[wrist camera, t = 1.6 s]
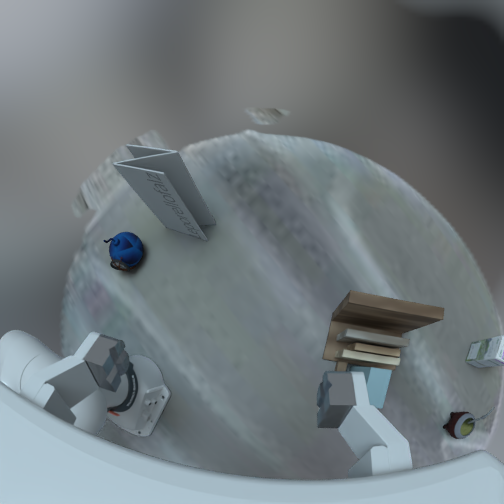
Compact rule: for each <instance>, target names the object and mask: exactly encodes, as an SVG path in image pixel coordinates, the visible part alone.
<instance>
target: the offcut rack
mask: <svg viewBox="0 0 504 504" xmlns="http://www.w3.org/2000/svg"><path fill="white" fill-rule="evenodd" d="M443 316H444V308H441V307H435V306H430V305H424V304H419V303H414V302H408V301H403V300H398V299H393V298H387V297H382V296H377V295H372V294H367V293H362V292H357V291H352V290H350V292H349V293H348V294H347V296H346V297H345V298H344V300H343V301H342V302H341V303H340V305H339V306H338V307H337V309H336V310H335V311H334V312H333V315H332V319H331V324H330V329H329V333H328V337H327V342H326V346H325V350H324V354H323V358H322V359H327V360H332V361H337V363H336V367H335V371H346V367H347V363H349V364H355V365H361V366H367V367H373V368H380V369H387V370H395V368H396V365H377V364H371V363H364V362H358V361H352V360H347V359H341V358H336V357H334V356H335V352H336V351H339V350H343V349H345V350H347V347H348V345H350V343H345V342H339V341H336V338H337V335H338V334H340V333H341V332H343V331H344V330H346V329H353V330H358V331H364V332H370V333H375V334H381V335H387V336H393V337H399V338H401V336H402V333H405V332H408V331H411V330H414V329H417V328H420V327H423V326H426V325H429V324H432V323H435V322H437V321H440V320H443ZM395 349H398V350H399V348H395ZM394 358H398V357H394Z"/></svg>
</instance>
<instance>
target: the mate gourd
mask: <svg viewBox="0 0 504 504" xmlns="http://www.w3.org/2000/svg"><path fill="white" fill-rule="evenodd" d="M494 408H495V407H493V408H492V409H491V410H490V411H489V412H488V413H487V414H486V415H484V416H482V417H480V418H478V419H475V418H474V416H473V415H472V414H471V413H469V412H456V413H453V412H451V413H450V416H451V420H450V421H449V423H448V424H446V425H444V426H443V428H446V430H448V432H449V433H450V435H451V436H452V437H454V438H456V439H462V438H465V437H467V436H469V435H470V434H471V433H472V431H473V430H474V428H475V421H478V420H481V419H484V418H486V417H487V416H488V415H489V414H490V413H491V412H492V410H493V409H494Z"/></svg>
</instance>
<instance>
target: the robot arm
mask: <svg viewBox="0 0 504 504" xmlns="http://www.w3.org/2000/svg"><path fill="white" fill-rule="evenodd" d="M124 348H125V344H124V342H123V341H122V340H119V339H116V338H112V337H109V336H106V335H103V334H99V333H96V332H91V333H90V334H89V335H88V337H87V338H86V339H85V341H84V342H83V343H82V345H81V346H80V348H79V349H78V350H77V352H76V353H75V355H74V356H69V357H67V358H65V359H63V358H62V357H60V356H59V355H57V354H55V353H54V352H53V351H52V350H51V349H49V348H48V347H47V346H46V345H44V344H43V343H42V342H41V341H40V340H39V339H37V338H35V337H34V336H32V335H30V334H27V333H25V332H23V331H20V330H12V331H10V332H8V333H6V334H5V335H4V336H3V337H2V338H1V340H0V504H504V464H503V463H502V462H501V461H500V460H498V459H497V458H496V457H495V456H493V455H492V454H491V453H489V452H488V451H486V450H478V451H475V452H472V453H470V454H467V455H464V456H461V457H458V458H455V459H451V460H448V461H444V462H441V463H437V464H433V465H429V466H425V467H421V468H416V469H413V466H412V460H411V454H410V448H409V443H408V441H407V440H406V439H405V438H404V437H403V436H402V435H401V434H400V433H399V432H398V430H397V429H396V428H395V427H394V426H393V425H392V424H391V423H390V422H389V421H388V420H387V419H386V418H385V417H384V416H383V415H382V414H381V413H380V412H379V411H378V409H377V408H376V407H375V406H374V405H370V402H369V396H368V391H367V386H366V381H365V376H364V373H363V372H350V371H325V372H324V375H323V382H321V383H320V385H319V388H318V392H317V406H318V407H319V408H320V409H319V411H318V413H317V425H318V428H338V430H339V432H340V433H341V435H342V436H343V438H344V439H345V441H346V442H347V443H348V445H349V446H350V448H351V449H352V451H353V452H354V454H355V455H356V456H357V458H358V459H359V461H358V462H357V463H356V464H355V465H354V466H352V467H351V468H350V469H349V470H348V478H346V479H327V480H292V479H273V478H260V477H250V476H242V475H235V474H228V473H222V472H216V471H210V470H205V469H200V468H195V467H191V466H186V465H182V464H178V463H174V462H171V461H167V460H163V459H160V458H156V457H153V456H150V455H147V454H143V453H140V452H137V451H134V450H132V449H129V448H126V447H123V446H120V445H118V444H115V443H113V442H110V441H108V440H105V439H103V438H100V437H98V436H96V434H97V433H98V432H99V431H100V430H101V429H102V427H103V426H104V424H105V421H106V418H107V417H108V418H109V419H110V420H111V421H113V422H114V423H115V424H117V425H118V426H119V427H120V428H122V429H124V430H125V431H127V432H129V433H131V434H134V435H137V436H150V435H151V433H152V431H153V429H154V427H155V425H156V423H157V421H158V419H159V417H160V416H161V414H162V412H163V410H164V408H165V406H166V404H167V402H168V400H169V398H170V396H171V392H170V390H169V389H168V387H167V386H166V385H165V383H164V380H163V377H162V374H161V372H160V370H159V368H158V366H157V365H156V364H155V363H154V362H153V361H152V360H151V359H149V358H147V357H145V356H141V355H133V356H130V357H129V356H128V353H127V352H126V351H125V350H124ZM163 396H164V397H165V398H163ZM139 431H140V432H141V434H140V433H139Z"/></svg>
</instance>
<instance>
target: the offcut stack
mask: <svg viewBox="0 0 504 504" xmlns="http://www.w3.org/2000/svg"><path fill="white" fill-rule="evenodd" d="M409 340H410V339H406V338H399V337H393V336H387V335H381V334H375V333H370V332H364V331H358V330H353V329H346V330H344V331H343V332H341V333H340V334H338V335H337V338H336V341H339V342H345V343H350V345H348V347H347V350H345V349H343V350H339V351H336V352H335V356H334V357H336V358H341V359H347V360H352V361H358V362H364V363H371V364H377V365H399V362H400V358H394V357H399V356H400V351H401V350H398V349H395V348H401V347H407V346H409Z"/></svg>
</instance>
